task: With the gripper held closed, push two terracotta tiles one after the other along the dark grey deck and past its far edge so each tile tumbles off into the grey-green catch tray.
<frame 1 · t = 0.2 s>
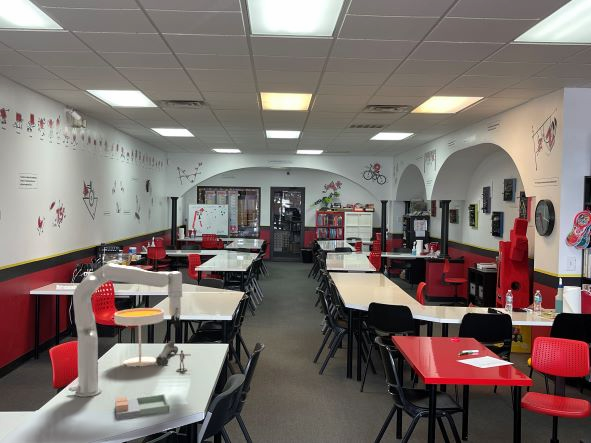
hand: (175, 325, 291), 31 cm above the table, fingers open, 9 cm apart
figurine: (181, 371, 313), on the table
bone: (165, 360, 338), on the table
catch tray: (152, 407, 253), on the table
tile near: (122, 408, 245), point 2 cm above the table, touching deck
tile far: (121, 404, 250), point 2 cm above the table, touching deck
deck: (127, 411, 249), on the table
round pedestal stand: (140, 362, 332), on the table
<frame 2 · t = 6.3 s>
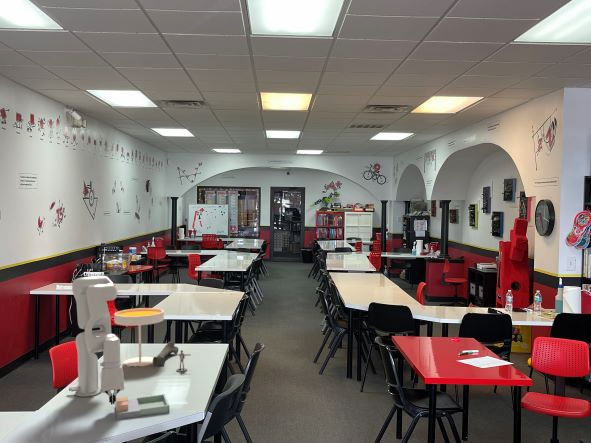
hand: (112, 403, 249), 4 cm above the table, fingers closed
bone: (163, 360, 338), on the table
tile far: (122, 404, 250), point 3 cm above the table, touching deck, gripper
everything else where it was.
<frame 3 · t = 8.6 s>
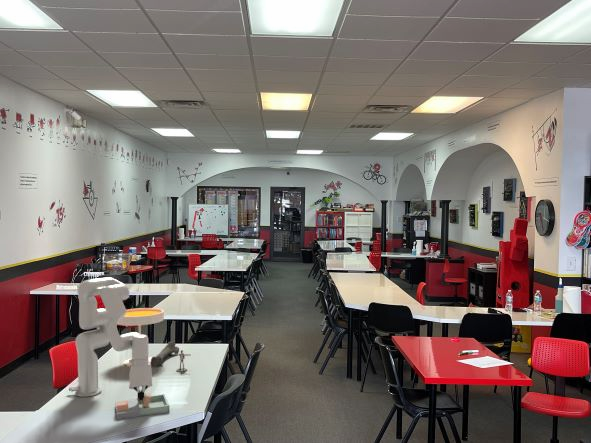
hand: (141, 399, 253), 4 cm above the table, fingers closed
tile far: (144, 399, 254), point 4 cm above the table, tilted 106°, touching catch tray, gripper
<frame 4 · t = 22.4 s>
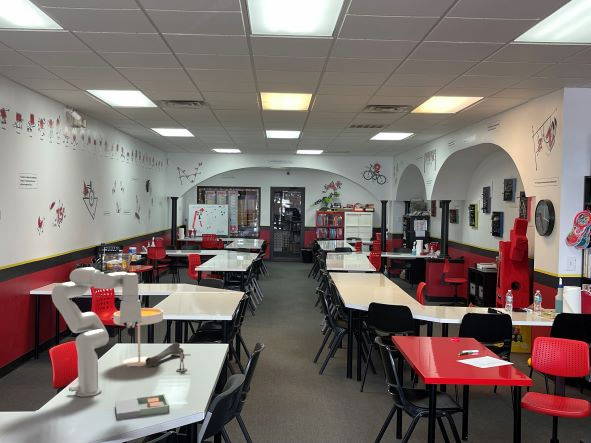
hand: (130, 335, 263), 32 cm above the table, fingers closed
bone: (163, 361, 335), on the table
tile near: (155, 404, 249), point 3 cm above the table, tilted 180°, touching catch tray
tile far: (153, 399, 255), point 3 cm above the table, tilted 180°, touching catch tray
everything else where it was.
at the end: tile far inside the target area (2.8 cm from its centre), point 3.0 cm above the table; tile near inside the target area (4.1 cm from its centre), point 3.0 cm above the table; tile near touching catch tray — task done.
